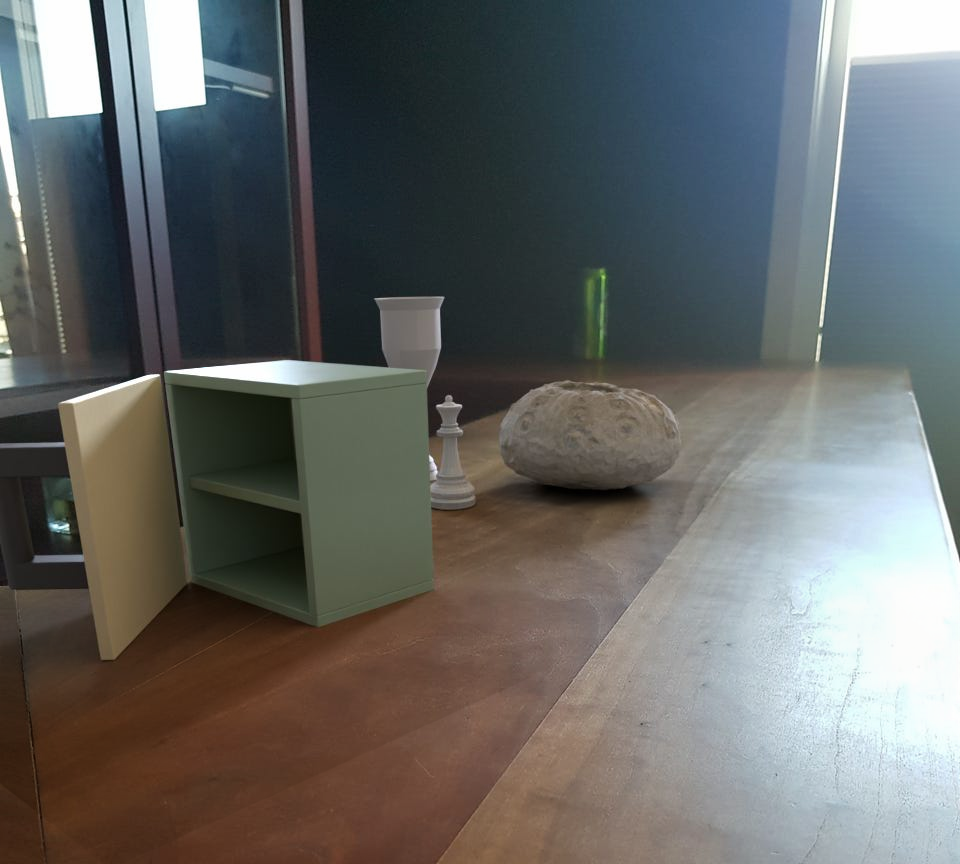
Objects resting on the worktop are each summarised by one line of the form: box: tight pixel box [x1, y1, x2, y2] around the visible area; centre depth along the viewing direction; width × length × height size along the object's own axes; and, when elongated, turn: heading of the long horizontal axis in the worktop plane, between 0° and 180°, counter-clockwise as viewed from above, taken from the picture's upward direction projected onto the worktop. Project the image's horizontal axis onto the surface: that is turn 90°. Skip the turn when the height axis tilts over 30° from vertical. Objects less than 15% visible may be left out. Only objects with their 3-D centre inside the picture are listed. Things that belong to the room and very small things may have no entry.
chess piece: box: [430, 394, 476, 511], centre depth 90 cm, size 4×4×10 cm
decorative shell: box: [498, 379, 682, 491], centre depth 96 cm, size 18×18×10 cm
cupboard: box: [163, 359, 435, 628], centre depth 66 cm, size 10×15×15 cm
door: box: [0, 374, 188, 661], centre depth 60 cm, size 6×15×14 cm, turn 0°
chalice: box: [374, 296, 445, 482], centre depth 101 cm, size 7×7×18 cm
